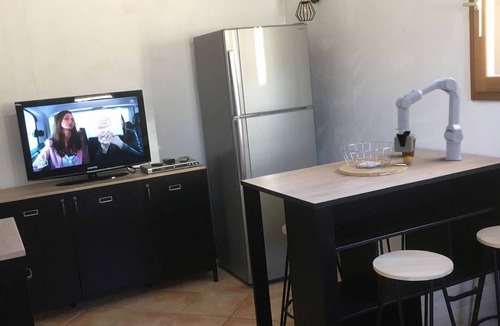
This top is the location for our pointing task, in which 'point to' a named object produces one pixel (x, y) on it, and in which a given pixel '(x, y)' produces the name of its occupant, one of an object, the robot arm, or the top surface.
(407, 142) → the grey block
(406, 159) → the ball
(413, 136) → the disposable coffee cup
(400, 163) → the tape square
